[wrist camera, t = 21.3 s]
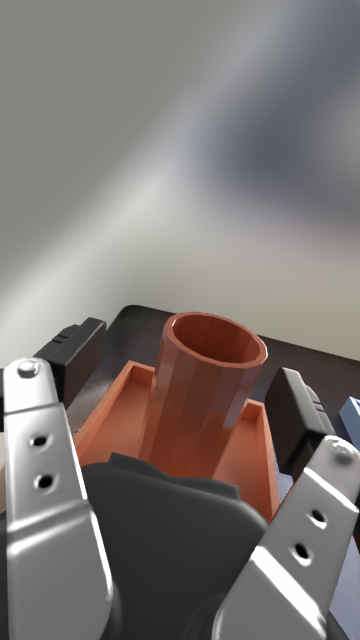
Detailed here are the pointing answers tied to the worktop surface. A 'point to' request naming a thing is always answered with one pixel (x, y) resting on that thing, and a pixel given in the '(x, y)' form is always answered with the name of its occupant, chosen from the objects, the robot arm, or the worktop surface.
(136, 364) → the terracotta tray
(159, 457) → the terracotta cup
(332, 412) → the worktop surface
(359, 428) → the blue tray
